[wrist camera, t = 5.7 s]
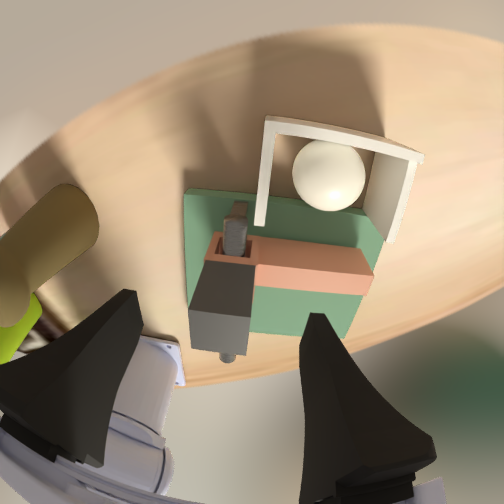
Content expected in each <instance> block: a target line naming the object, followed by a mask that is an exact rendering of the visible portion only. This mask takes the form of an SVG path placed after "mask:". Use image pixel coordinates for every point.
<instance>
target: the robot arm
mask: <svg viewBox="0 0 504 504" xmlns="http://www.w3.org/2000/svg"><path fill="white" fill-rule="evenodd" d="M143 325H144V324H143V320H142V315H141V311H140V307H139V302H138V297H137V292H136V291H134V290H129V289H123V290H121V291H120V292H119V293H117V294H116V295H115V296H114V297H112V298H111V299H110V300H109V301H107V302H106V303H105V304H104V305H103V306H101V307H100V308H99V309H98V310H96V311H95V312H94V313H93V314H91V315H90V316H89V317H88V318H86V319H85V320H83V321H82V322H81V323H79V324H78V325H77V326H75V327H74V328H73V329H71V330H70V331H69V332H67V333H66V334H64V335H63V336H61V337H59V338H58V339H56V340H55V341H53V342H51V343H49V344H48V345H46V346H44V347H42V348H40V349H38V350H36V351H34V352H32V353H30V354H28V355H25V356H23V357H21V358H18V359H16V360H13V361H10V362H7V363H3V364H0V410H1V411H2V412H3V413H4V415H3V416H2V417H1V416H0V477H1V478H2V479H3V480H4V481H5V482H6V483H7V484H8V485H9V486H10V487H12V488H13V489H14V490H15V491H16V492H17V493H18V494H19V495H21V496H22V497H23V498H24V499H25V500H26V501H28V502H29V503H30V504H203V503H197V502H191V501H185V500H181V499H176V498H172V497H167V496H165V494H166V493H167V491H168V489H169V487H170V484H171V481H172V477H173V472H174V459H173V456H172V454H171V451H170V450H169V448H168V447H165V446H164V445H165V441H166V438H163V437H161V435H162V431H163V427H164V423H165V419H166V415H167V412H168V408H169V404H170V400H171V397H172V393H173V390H174V386H175V385H179V386H185V384H186V381H185V375H184V370H183V364H182V358H181V351H180V346H179V344H178V343H176V342H172V341H167V340H161V339H156V338H151V337H147V336H142V335H141V332H142V329H143ZM299 367H300V376H301V385H302V393H303V402H304V412H305V443H304V461H303V474H302V482H301V491H300V497H299V504H446V497H445V491H444V485H443V479H442V477H438V478H435V479H433V480H430V481H427V482H424V483H421V484H419V485H416V486H413V485H412V481H414V480H415V479H416V477H415V472H417V471H418V470H420V469H422V468H424V467H426V466H428V465H429V464H431V463H432V462H434V461H435V460H436V458H437V456H436V452H435V447H434V443H433V440H432V437H431V436H429V435H428V434H426V433H425V432H424V431H422V430H421V429H419V428H418V427H416V426H415V425H414V424H412V423H411V422H410V421H408V420H407V419H406V418H405V417H404V416H402V415H401V414H400V413H399V412H398V411H397V410H396V409H394V408H393V407H392V406H391V405H390V404H389V403H388V402H387V401H386V400H385V399H384V398H383V397H382V396H381V395H380V393H379V392H378V391H377V390H376V389H375V388H374V387H373V386H372V384H371V383H370V382H369V381H368V380H367V378H366V377H365V376H364V374H363V373H362V372H361V371H360V369H359V368H358V366H357V365H356V364H355V362H354V360H353V359H352V358H351V356H350V355H349V353H348V351H347V350H346V348H345V347H344V345H343V344H342V342H341V340H340V339H339V337H338V335H337V334H336V332H335V330H334V329H333V327H332V325H331V323H330V322H329V320H328V318H327V316H326V315H325V313H312V312H310V314H309V317H308V320H307V323H306V327H305V330H304V333H303V336H302V339H301V342H300V345H299Z"/></svg>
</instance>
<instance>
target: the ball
mask: <svg viewBox="0 0 504 504" xmlns="http://www.w3.org/2000/svg"><path fill="white" fill-rule="evenodd" d="M292 177H293V182H294V186H295V188H296V190H297V192H298V194H299V195H300V197H301V198H302V199H303V200H304V201H305V202H306V203H308V204H309V205H311V206H312V207H314V208H316V209H319V210H323V211H337V210H341V209H344V208H346V207H348V206H350V205H351V204H352V203H353V202H355V201H356V200H357V198H358V197H359V196H360V194H361V192H362V190H363V187H364V184H365V169H364V165H363V162H362V160H361V158H360V156H359V154H358V153H357V152H356V151H355V150H354V149H353V148H352V147H351V146H349V145H344V144H339V143H334V142H329V141H323V140H315V141H312V142H310V143H309V144H307V145H306V146H305V147H303V148H302V149H301V150H300V152H299V153H298V155H297V156H296V158H295V161H294V164H293V169H292Z"/></svg>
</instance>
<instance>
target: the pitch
mask: <svg viewBox="0 0 504 504" xmlns="http://www.w3.org/2000/svg"><path fill="white" fill-rule="evenodd" d="M235 200H237V201H247V202H248V209H247V218H248V228H247V235H255V236H260V237H269V238H278V239H287V240H295V241H303V242H312V243H320V244H328V245H336V246H344V247H352V248H360V249H361V250H362V252H363V254H364V256H365V258H366V260H367V262H368V264H369V266H370V268H371V270H372V272H373V270H374V267H375V264H376V262H377V259H378V256H379V253H380V251H381V248H382V245H383V242H384V239H383V238H382V236H381V235H380V233H379V232H378V230H377V229H376V228H375V226H374V225H373V223H372V222H371V221H370V219H369V218H368V216H367V215H366V214H365V212H364V211H363V210H362V209H359V208H353V207H346V208H344V209H341V210H337V211H323V210H319V209H316V208H314V207H312V206H311V205H309V204H308V203H306V202H305V201H304V200H300V199H292V198H285V197H277V196H268V201H267V209H266V217H265V225H264V226H255V225H254V219H255V209H256V200H257V194H250V193H241V192H230V191H220V190H208V189H195V188H189V189H188V190H187V191H186V192H185V193H184V238H185V264H186V283H187V298H188V308H189V305H190V302H191V299H192V296H193V294H194V291H195V288H196V285H197V282H198V279H199V277H200V274H201V271H202V268H203V266H204V257H205V255H206V252H207V250H208V247H209V244H210V242H211V239H212V237H213V234H214V232H215V231H218V232H223V228H224V217H225V216H227V215H230V213H231V210H232V207H233V204H234V201H235ZM362 298H363V295H351V294H339V293H327V292H316V291H305V290H294V289H284V288H274V287H265V286H256V285H255V291H254V299H253V303H252V311H251V321H250V329H249V332H256V333H266V334H277V335H289V336H303V333H304V330H305V327H306V323H307V320H308V317H309V314H310V312H312V313H325V315H326V316H327V318H328V320H329V322H330V323H331V325H332V327H333V329H334V330H335V332H336V334H337V335H338V337H339V338H343V339H344V338H345V336H346V334H347V332H348V329H349V327H350V325H351V323H352V321H353V318H354V316H355V314H356V312H357V309H358V307H359V305H360V302H361V300H362Z"/></svg>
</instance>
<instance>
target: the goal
mask: <svg viewBox="0 0 504 504" xmlns="http://www.w3.org/2000/svg"><path fill="white" fill-rule="evenodd" d="M276 133H277V134H284V135H292V136H299V137H305V138H311V139H317V140H323V141H329V142H334V143H339V144H344V145H349V146H353V147H358V148H362V149H367V150H371V151H375V155H374V160H373V165H372V170H371V174H370V178H369V183H368V187H367V191H366V195H365V199H364V203H363V207H362V210H363V211H364V212H365V214H366V215H367V216H368V218H369V219H370V221H371V222H372V223H373V225H374V226H375V228H376V229H377V230H378V232H379V233H380V235H381V236H382V238H383V239H384V240H385V242H387V243H393V244H394V241H395V238H396V235H397V233H398V230H399V227H400V224H401V220H402V217H403V214H404V211H405V208H406V204H407V201H408V197H409V194H410V190H411V187H412V183H413V179H414V175H415V171H416V167H417V163H419V164H422V165H423V161H424V156H425V155H424V154H422V153H420V152H418V151H416V150H414V149H411V148H409V147H407V146H404V145H402V144H400V143H397V142H395V141H392V140H390V139H387V138H385V137H381V136H377V135H373V134H369V133H365V132H361V131H357V130H353V129H348V128H344V127H339V126H334V125H329V124H324V123H318V122H312V121H306V120H300V119H293V118H286V117H278V116H270V115H266V118H265V125H264V135H263V145H262V154H261V163H260V172H259V182H258V191H257V200H256V209H255V219H254V225H255V226H264V225H265V217H266V209H267V201H268V193H269V185H270V176H271V168H272V160H273V152H274V143H275V135H276Z"/></svg>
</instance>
